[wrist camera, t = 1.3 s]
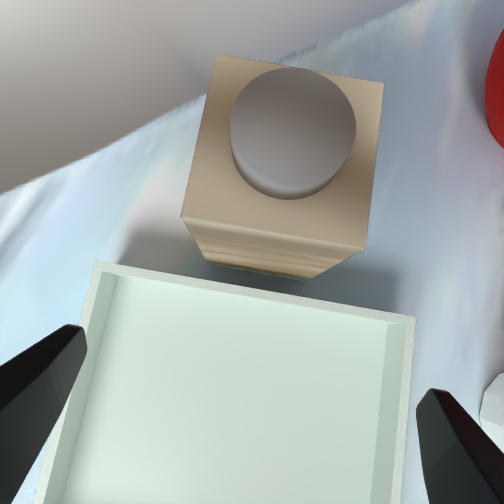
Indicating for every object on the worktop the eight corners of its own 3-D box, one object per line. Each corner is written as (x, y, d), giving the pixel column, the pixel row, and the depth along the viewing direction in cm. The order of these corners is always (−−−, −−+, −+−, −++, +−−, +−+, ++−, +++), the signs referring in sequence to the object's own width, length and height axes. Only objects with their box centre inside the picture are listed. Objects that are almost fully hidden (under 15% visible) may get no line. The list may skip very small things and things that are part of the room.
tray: (365, 607, 20) (387, 658, 17) (44, 550, 20) (9, 592, 17) (393, 317, 23) (416, 316, 20) (114, 268, 23) (95, 260, 20)
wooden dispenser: (306, 281, 23) (383, 238, 11) (208, 264, 23) (172, 201, 11) (319, 188, 24) (402, 54, 12) (226, 172, 24) (213, 20, 12)
